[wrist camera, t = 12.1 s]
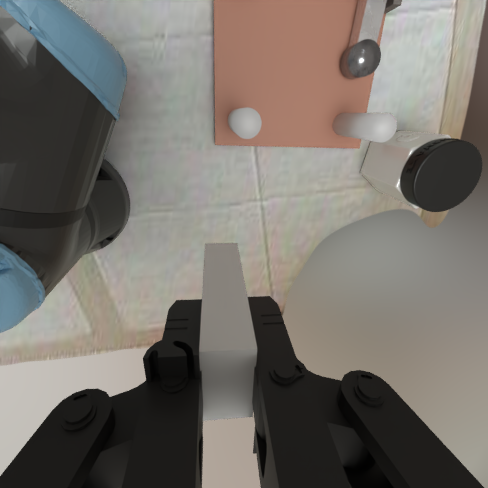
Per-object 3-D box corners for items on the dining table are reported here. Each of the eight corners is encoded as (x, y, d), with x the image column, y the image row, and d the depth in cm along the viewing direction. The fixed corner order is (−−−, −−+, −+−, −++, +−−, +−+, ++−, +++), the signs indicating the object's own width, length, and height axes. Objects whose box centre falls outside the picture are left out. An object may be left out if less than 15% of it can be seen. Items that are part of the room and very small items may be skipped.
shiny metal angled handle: (363, 80, 35) (415, 69, 26) (336, 77, 35) (380, 65, 26) (388, -26, 31) (461, -83, 22) (358, -32, 31) (419, -92, 22)
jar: (414, 122, 40) (488, 126, 30) (418, 176, 44) (485, 196, 33) (355, 145, 41) (406, 157, 30) (363, 196, 44) (412, 223, 34)
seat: (215, 143, 39) (216, 155, 28) (213, -52, 30) (213, -143, 20) (352, 146, 41) (403, 159, 30) (386, -35, 32) (473, -109, 22)
